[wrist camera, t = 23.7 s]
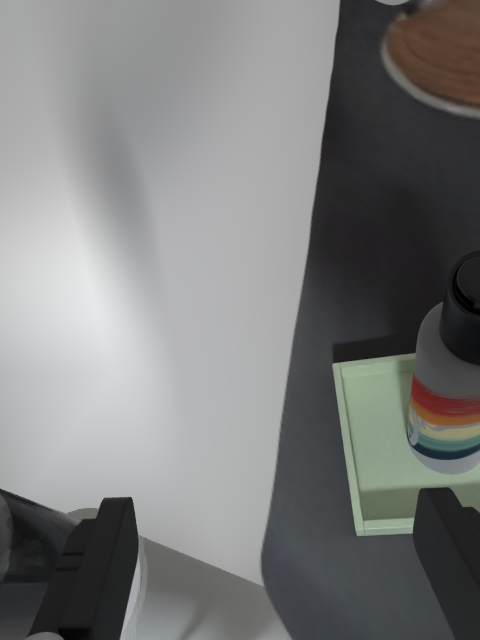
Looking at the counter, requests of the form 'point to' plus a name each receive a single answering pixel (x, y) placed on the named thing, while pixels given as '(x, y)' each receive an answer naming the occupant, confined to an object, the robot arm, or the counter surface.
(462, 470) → the lotion bottle
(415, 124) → the counter surface
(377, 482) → the green tray
